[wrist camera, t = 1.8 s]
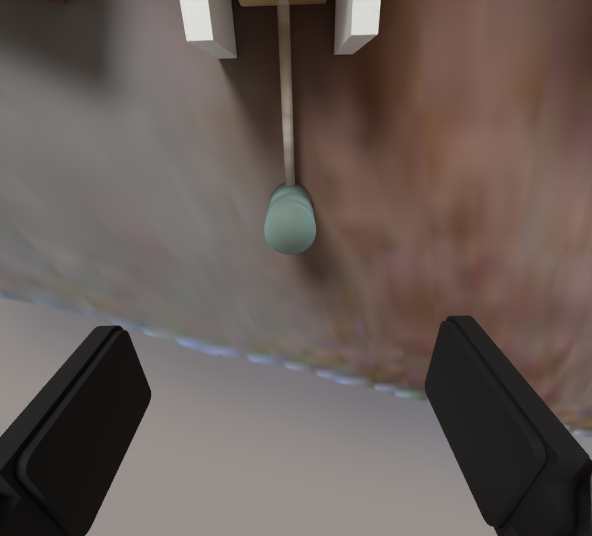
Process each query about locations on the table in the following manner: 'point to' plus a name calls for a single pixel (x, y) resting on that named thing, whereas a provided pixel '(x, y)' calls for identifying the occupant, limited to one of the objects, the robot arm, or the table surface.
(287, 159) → the tethered block
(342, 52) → the white pronged block
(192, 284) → the table surface
